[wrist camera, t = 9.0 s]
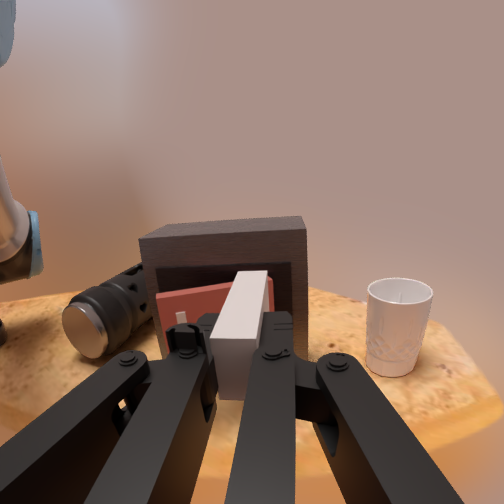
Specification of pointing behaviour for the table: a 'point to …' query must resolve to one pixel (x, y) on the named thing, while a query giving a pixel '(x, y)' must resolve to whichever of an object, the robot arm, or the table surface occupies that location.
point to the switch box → (231, 263)
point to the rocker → (196, 304)
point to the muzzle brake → (107, 313)
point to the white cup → (396, 324)
